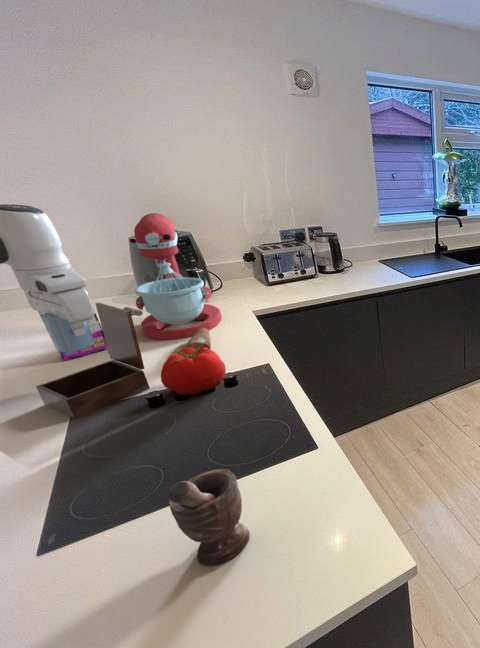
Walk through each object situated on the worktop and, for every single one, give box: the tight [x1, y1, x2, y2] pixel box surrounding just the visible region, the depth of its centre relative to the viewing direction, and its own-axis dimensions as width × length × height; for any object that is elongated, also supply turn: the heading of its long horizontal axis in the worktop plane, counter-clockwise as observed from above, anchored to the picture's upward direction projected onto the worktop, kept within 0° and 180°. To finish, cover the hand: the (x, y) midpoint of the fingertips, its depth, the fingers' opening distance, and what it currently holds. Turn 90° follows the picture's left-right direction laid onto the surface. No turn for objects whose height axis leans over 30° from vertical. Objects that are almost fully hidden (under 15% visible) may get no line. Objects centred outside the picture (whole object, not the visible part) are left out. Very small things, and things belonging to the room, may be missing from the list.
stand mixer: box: [129, 212, 223, 341], centre depth 144 cm, size 24×32×40 cm
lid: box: [94, 302, 145, 371], centre depth 110 cm, size 16×15×5 cm
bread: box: [185, 328, 212, 350], centre depth 134 cm, size 6×19×6 cm, turn 31°
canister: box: [43, 313, 95, 352], centre depth 97 cm, size 6×6×9 cm
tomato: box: [160, 346, 227, 396], centre depth 110 cm, size 13×14×12 cm
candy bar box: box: [37, 305, 108, 362], centre depth 126 cm, size 11×5×16 cm, turn 147°
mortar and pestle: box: [167, 468, 251, 566], centre depth 63 cm, size 12×9×20 cm
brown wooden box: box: [35, 359, 151, 420], centre depth 105 cm, size 16×15×6 cm
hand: (71, 332), depth 97 cm, fingers closed on canister, 6 cm apart
